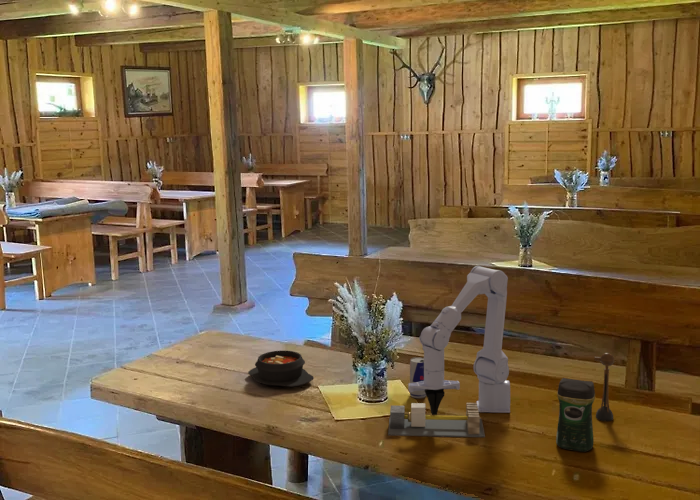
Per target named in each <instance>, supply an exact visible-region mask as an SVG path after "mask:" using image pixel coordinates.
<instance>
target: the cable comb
mask: <svg viewBox="0 0 700 500" xmlns="http://www.w3.org/2000/svg"><path fill="white" fill-rule="evenodd" d="M465 404H466V407H465V408H466V411H465V414H466V415H465V416H468V420H466V421H467V428H468V434H479V423H480V418H481V417H480V412H478V407H477V403H476V402H466V403H465Z"/></svg>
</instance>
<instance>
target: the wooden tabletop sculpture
mask: <svg viewBox="0 0 700 500" xmlns="http://www.w3.org/2000/svg"><path fill="white" fill-rule="evenodd" d="M594 361H597V362H600V363H601V365H603V366H605V367H604V368H603V371H604V372H603V387H602V390H603V391H602V399H601V404H600V407H599V408H598V409H597V410H596V413H595V418H596V420H599V421H601V422H611V421H613V420H614V414H613V410H611V408H610V401H609V379H610V376H609V375H610V371H611V370H610V368H609V367H611V366H613V364H614V363H615V357H614V355H613V354H611V353H609V352H604V353H602V354H601V355H600V356H594Z"/></svg>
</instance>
